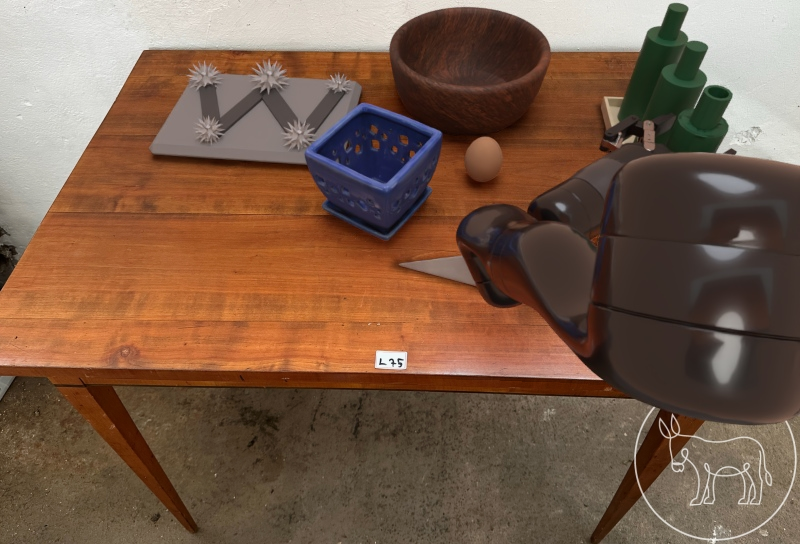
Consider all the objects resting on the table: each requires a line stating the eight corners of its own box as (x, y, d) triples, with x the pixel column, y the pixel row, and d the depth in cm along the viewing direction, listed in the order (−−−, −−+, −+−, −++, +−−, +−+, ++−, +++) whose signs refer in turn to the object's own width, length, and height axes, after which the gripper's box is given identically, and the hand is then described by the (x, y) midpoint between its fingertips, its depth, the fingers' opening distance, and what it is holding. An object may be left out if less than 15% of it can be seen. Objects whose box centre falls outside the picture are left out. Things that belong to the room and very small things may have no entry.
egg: (471, 161, 82) (475, 123, 77) (504, 172, 81) (511, 133, 75) (456, 183, 79) (460, 145, 74) (491, 195, 78) (497, 156, 72)
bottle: (684, 199, 76) (746, 85, 62) (678, 226, 73) (743, 112, 59) (642, 188, 77) (695, 74, 63) (635, 214, 74) (689, 99, 60)
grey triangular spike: (396, 298, 66) (503, 289, 64) (393, 260, 67) (500, 250, 64) (405, 301, 72) (504, 292, 69) (402, 266, 73) (501, 256, 70)
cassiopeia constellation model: (149, 160, 83) (131, 121, 78) (197, 81, 97) (184, 43, 91) (341, 173, 81) (337, 134, 75) (363, 90, 94) (360, 52, 89)
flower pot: (311, 219, 75) (297, 150, 66) (367, 165, 82) (362, 97, 73) (390, 259, 70) (387, 191, 61) (443, 199, 77) (447, 130, 68)
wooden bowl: (391, 62, 100) (390, 6, 92) (527, 60, 99) (537, 4, 91) (389, 149, 84) (387, 91, 76) (551, 147, 84) (566, 89, 76)
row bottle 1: (655, 113, 88) (702, 2, 74) (650, 133, 85) (698, 20, 71) (620, 105, 90) (660, -6, 76) (614, 124, 87) (654, 12, 72)
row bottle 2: (669, 153, 82) (723, 39, 68) (663, 176, 79) (719, 61, 65) (631, 143, 84) (676, 30, 69) (624, 165, 80) (670, 51, 66)
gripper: (676, 202, 54) (770, 142, 60) (571, 131, 62) (663, 83, 67) (650, 251, 60) (737, 192, 66) (557, 181, 68) (643, 133, 73)
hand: (700, 137), depth 67 cm, fingers open, 8 cm apart
